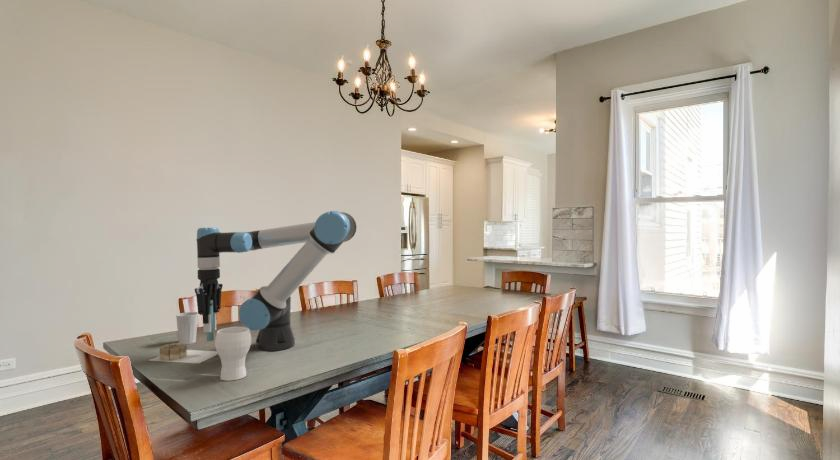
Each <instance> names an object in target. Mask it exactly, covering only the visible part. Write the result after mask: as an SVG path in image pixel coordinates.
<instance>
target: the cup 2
mask: <svg viewBox="0 0 840 460" xmlns="http://www.w3.org/2000/svg"><path fill="white" fill-rule="evenodd" d="M251 334H252V333H251V330H250V329H249V328H247V327H245V326H230V327H225V328H220V329H218V330H216V335H215V337H214V340H215V341H214V342H215V343H214V347H215V350H216V351H217V353H218V355H217V356H218V357H219V358H220V362H221V371H220V378H219V379H220V380H222V381H225V382H227V381H230V382H231V381H237V380H240V379H243V378H245V377H247V368H246V358H247V355H248V352H249V350H250V348H251V345H252V335H251Z"/></svg>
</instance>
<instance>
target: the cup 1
mask: <svg viewBox="0 0 840 460" xmlns="http://www.w3.org/2000/svg"><path fill="white" fill-rule="evenodd" d="M175 316H176V317H175V318H176V325H177V326H176V327H177V337H178V343H185V344H186V345H189V344H190V345H191V344H194V343H196V342H197V333H198V332H197V331H198V330H197V329H198V319H199V314H198V311H197V312H196V311H195V312H194V311H190V312H188V311H187V312H182V313H181V312H180V313H177V314H176V315H175Z"/></svg>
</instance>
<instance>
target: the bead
mask: <svg viewBox="0 0 840 460" xmlns="http://www.w3.org/2000/svg"><path fill="white" fill-rule="evenodd" d="M187 345H188V344H185V343H179V342H173V343H167V344H164V345H162V346H159V356H160V360H165V361H169V360H170V361H171V360H177V359H181V358H184V357H186V356H187V350H188V347H187Z"/></svg>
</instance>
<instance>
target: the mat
mask: <svg viewBox="0 0 840 460" xmlns="http://www.w3.org/2000/svg"><path fill="white" fill-rule="evenodd" d="M215 356H219V355H218V353H217V350H216V351H215V350H199V349H198V350H196V349H187V356H186V357H184V358H181V359H177V360H171V361H170V360H169V361H165V360H160V355H158V356H156V357H153V358H151V359H148V362H150V361H151V362H167V363H185V364H201V363H203V362H205V361H207V360H209V359H212V358H213V357H215Z"/></svg>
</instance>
